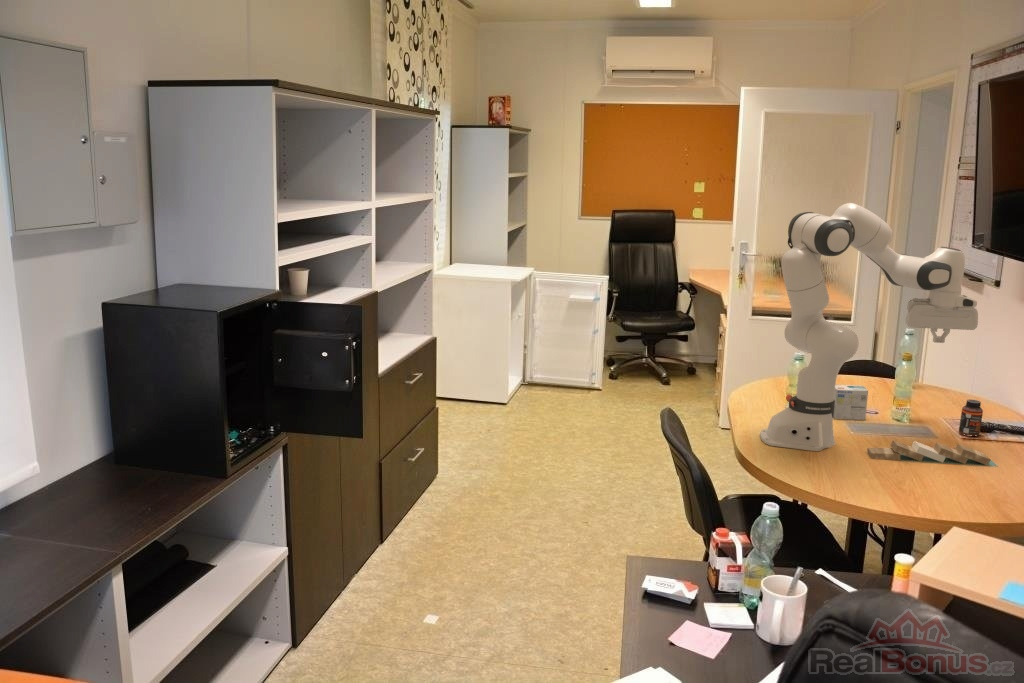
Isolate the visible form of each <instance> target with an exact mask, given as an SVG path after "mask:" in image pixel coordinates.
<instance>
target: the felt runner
mask: <svg viewBox="0 0 1024 683" xmlns="http://www.w3.org/2000/svg"><path fill="white" fill-rule="evenodd" d="M898 461H900V462H917V463H930V464H931V463H933V464H948V465H961V466H962V465H963V466H964V465H965V466H978V467H979V466H981V467H984V466H985V467H994V468H995V467H998V468H999V466H998V465H997V463H995V462H994V461H993V460H992V459H991V460H990V462H989V464H988V465H985V464H982V463H980V462H977V461H974V460H972V459H969V458H968V460H967V462H966V464H964V463H961V462H958V461H956V460H953V459H950V458H948V457H946V458H945V460H944V461H943V463H942V462H940V461H937V460H934V459H932V458H929V457H927V456H924V457H923V459H922V461H918V460H916V459H913V458H911V457H908V456H905V455H903V454H901V455H900V460H898Z"/></svg>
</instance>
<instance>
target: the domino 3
mask: <svg viewBox="0 0 1024 683" xmlns="http://www.w3.org/2000/svg"><path fill="white" fill-rule="evenodd" d="M911 444H912V445H911V447H912V448H913V449H914V450H915V451H916V453H919V454H922V455H924V456H927V457H929V458H932V459H934V460H937V461H940V462H942V463H941V464H944V463H943V461H944V460H945V458H946V457H945V456H943V455H940V454H938V453H937V452H936V451H935V450H934V449H933V447H932V446H929V445H926V444H923V443H921V442H918V441H916V440H914V441H913V442H912V443H911Z"/></svg>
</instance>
